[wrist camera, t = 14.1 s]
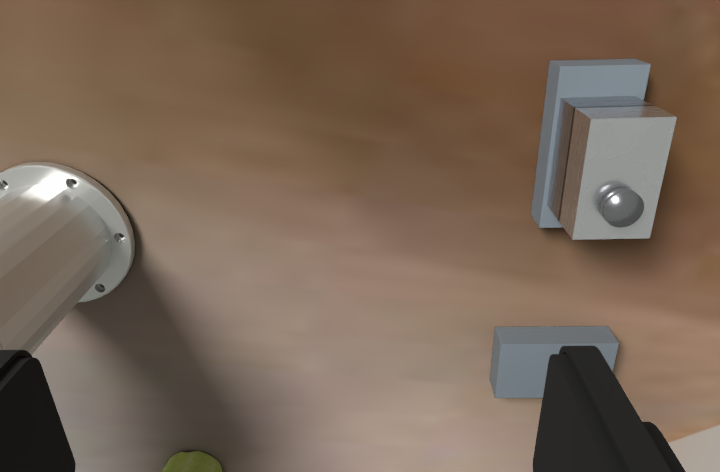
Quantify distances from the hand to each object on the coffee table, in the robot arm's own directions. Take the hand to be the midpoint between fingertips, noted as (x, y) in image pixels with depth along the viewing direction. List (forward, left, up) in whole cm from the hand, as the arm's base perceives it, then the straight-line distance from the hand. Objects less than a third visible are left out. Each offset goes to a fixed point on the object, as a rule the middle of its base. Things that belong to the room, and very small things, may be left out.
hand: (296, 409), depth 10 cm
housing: (+17, -5, -31) cm, 35 cm away
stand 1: (+17, -5, -33) cm, 38 cm away
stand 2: (+17, -25, -33) cm, 45 cm away
